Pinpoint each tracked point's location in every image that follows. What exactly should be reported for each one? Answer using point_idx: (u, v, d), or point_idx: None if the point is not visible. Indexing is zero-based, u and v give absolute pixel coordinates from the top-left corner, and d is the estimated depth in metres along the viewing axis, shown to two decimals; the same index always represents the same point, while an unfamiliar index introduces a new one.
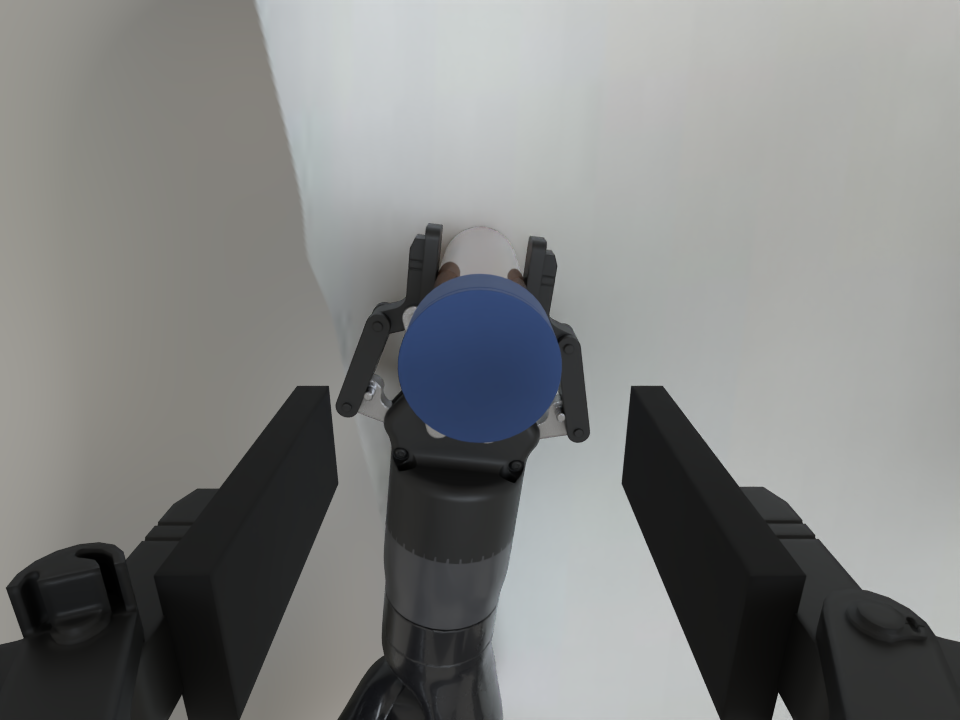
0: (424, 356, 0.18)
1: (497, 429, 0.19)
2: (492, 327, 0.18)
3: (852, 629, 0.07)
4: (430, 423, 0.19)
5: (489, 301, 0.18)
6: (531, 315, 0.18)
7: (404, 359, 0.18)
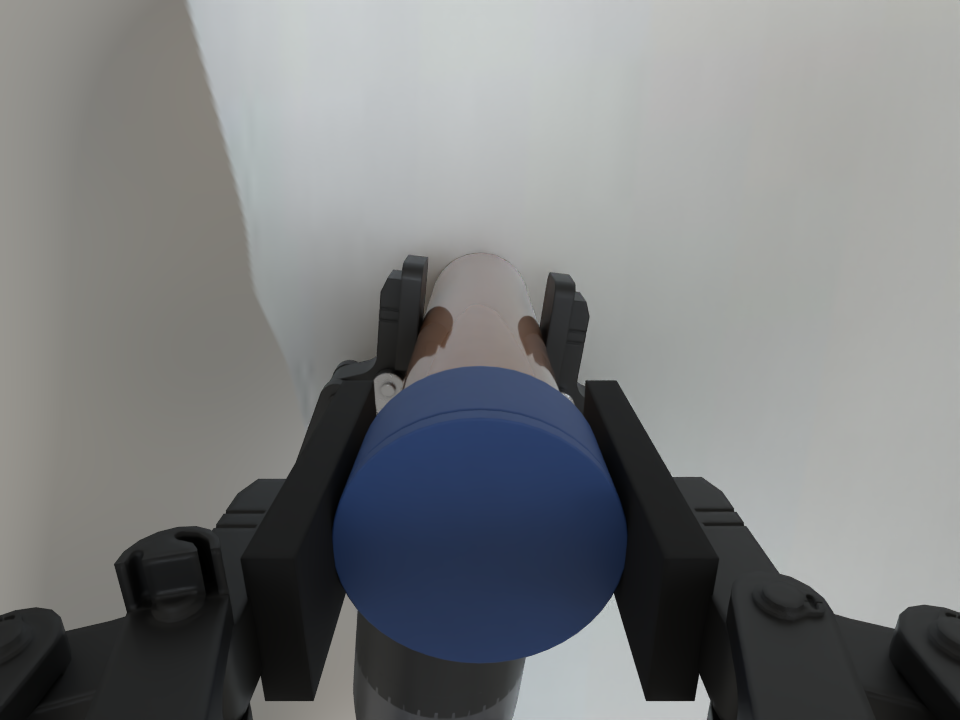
0: (379, 529, 0.10)
1: (511, 643, 0.11)
2: (503, 482, 0.10)
3: (757, 610, 0.07)
4: (393, 634, 0.11)
5: (497, 438, 0.09)
6: (574, 461, 0.10)
7: (343, 534, 0.10)
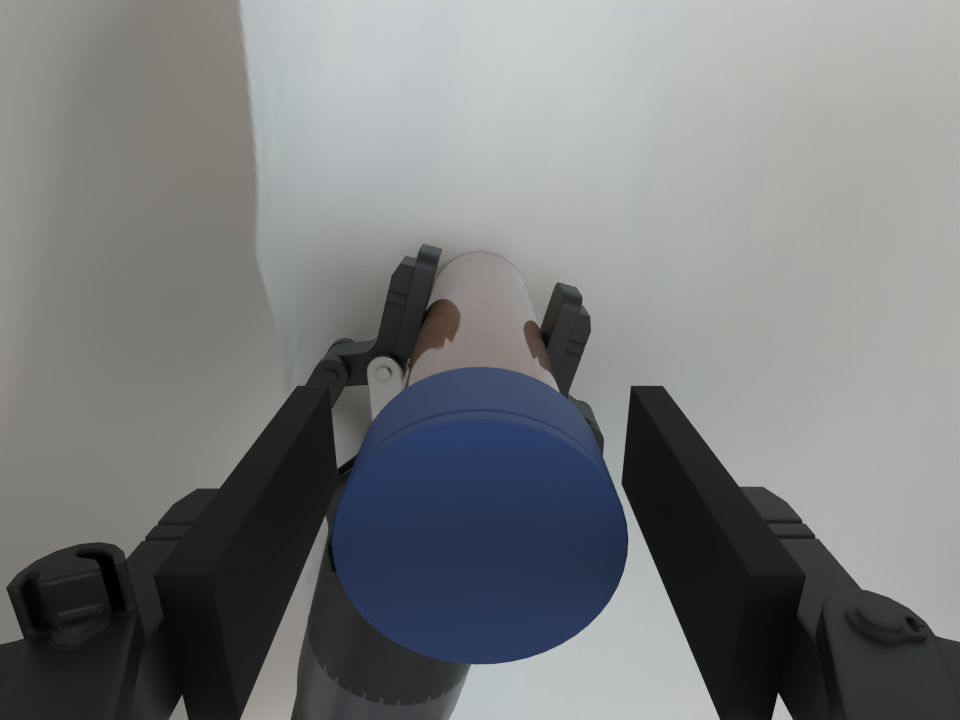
0: (452, 629, 0.11)
1: (603, 527, 0.10)
2: (398, 533, 0.10)
3: (851, 629, 0.07)
4: (578, 627, 0.11)
5: (350, 536, 0.10)
6: (372, 473, 0.10)
7: (457, 655, 0.11)
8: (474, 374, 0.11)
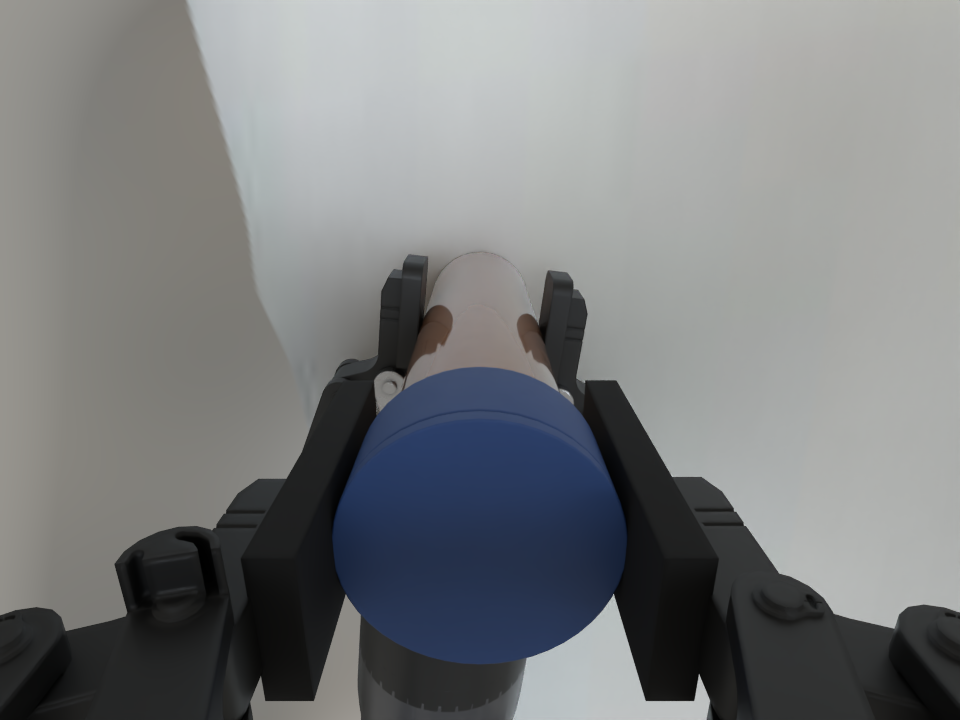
0: (467, 632, 0.11)
1: (597, 511, 0.10)
2: (395, 544, 0.10)
3: (757, 610, 0.07)
4: (592, 614, 0.11)
5: (351, 554, 0.10)
6: (359, 489, 0.10)
7: (478, 657, 0.11)
8: (453, 376, 0.11)
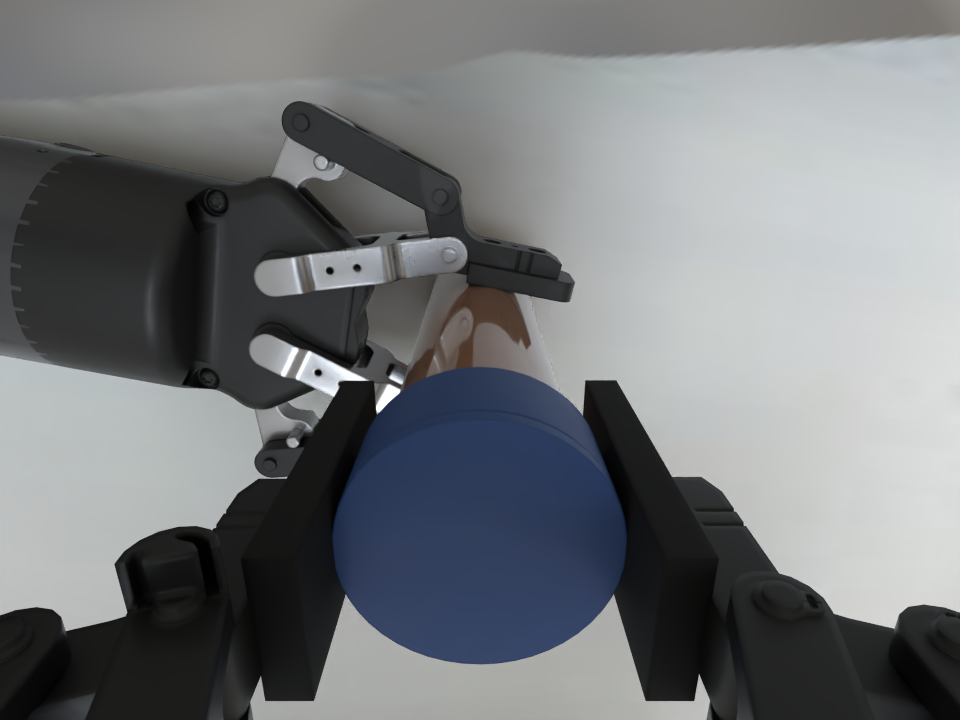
0: (467, 632, 0.11)
1: (597, 511, 0.10)
2: (396, 544, 0.10)
3: (757, 610, 0.07)
4: (592, 614, 0.11)
5: (350, 554, 0.10)
6: (359, 489, 0.10)
7: (477, 657, 0.11)
8: (453, 376, 0.11)
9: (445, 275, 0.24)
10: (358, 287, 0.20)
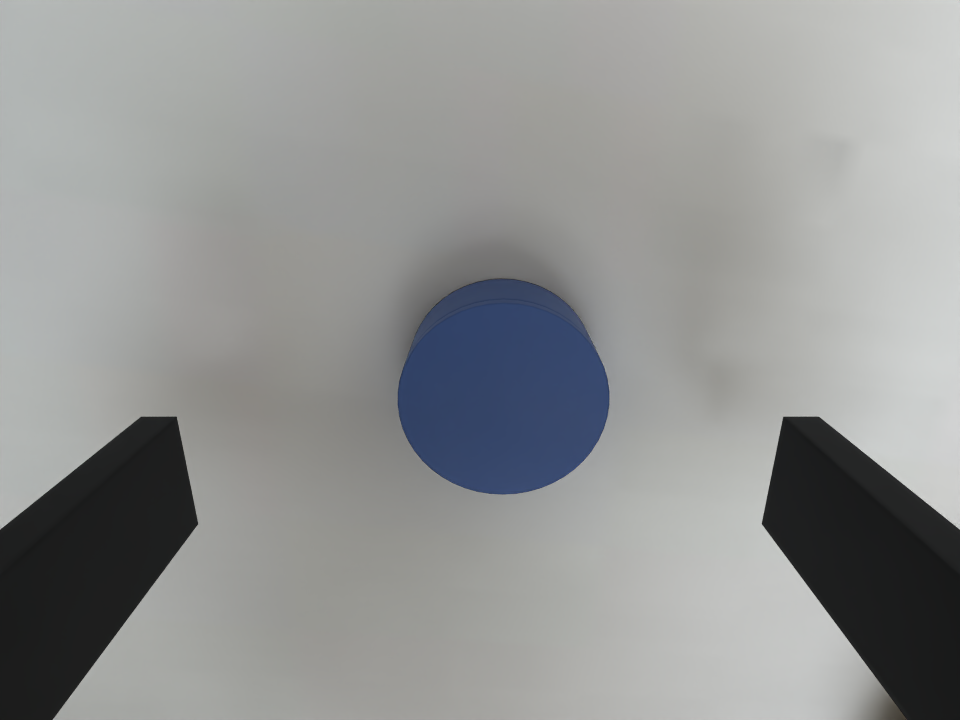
0: (493, 468, 0.15)
1: (587, 372, 0.14)
2: (443, 398, 0.14)
3: None
4: (584, 453, 0.15)
5: (411, 405, 0.14)
6: (418, 356, 0.14)
7: (500, 488, 0.15)
8: (483, 284, 0.15)
9: None
10: None
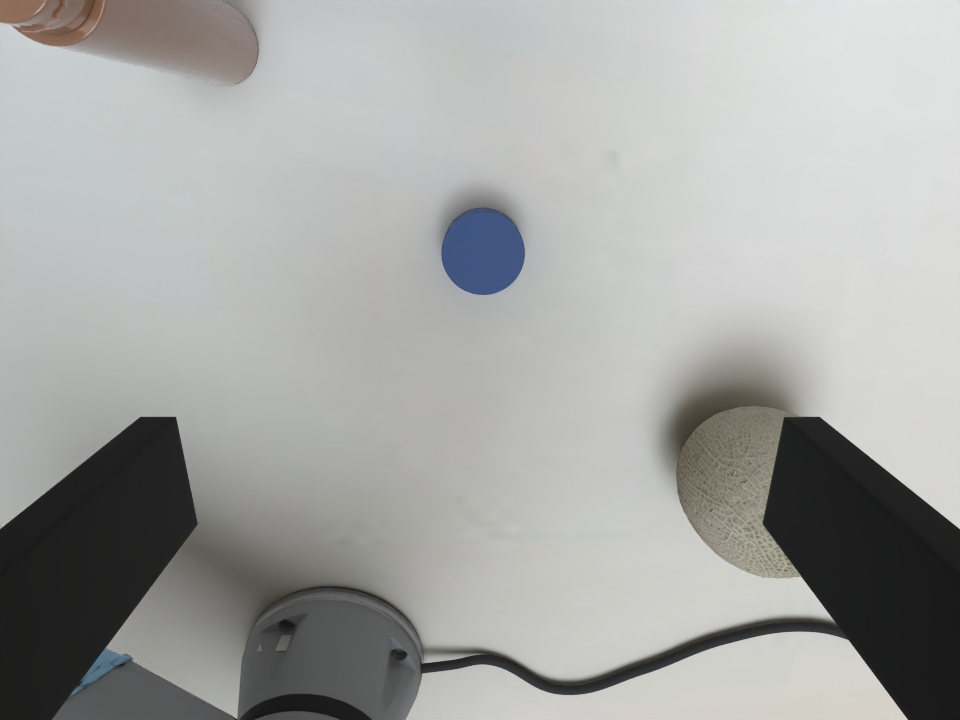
0: (479, 282, 0.37)
1: (515, 240, 0.36)
2: (459, 251, 0.36)
3: None
4: (515, 275, 0.37)
5: (447, 254, 0.37)
6: (450, 233, 0.36)
7: (482, 291, 0.37)
8: (475, 209, 0.38)
9: None
10: None
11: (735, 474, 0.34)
